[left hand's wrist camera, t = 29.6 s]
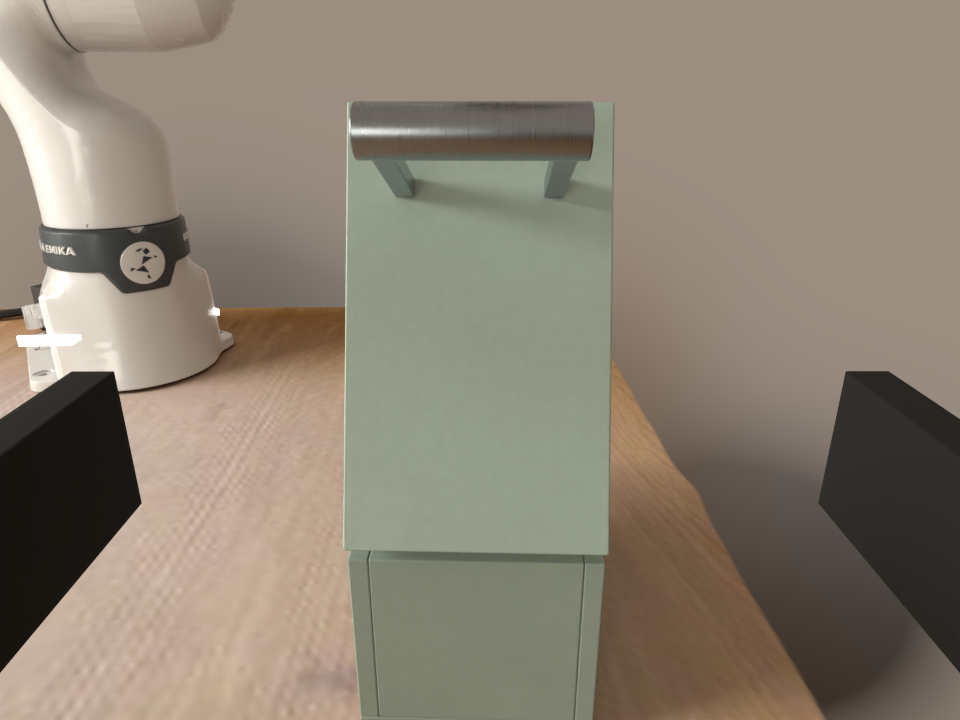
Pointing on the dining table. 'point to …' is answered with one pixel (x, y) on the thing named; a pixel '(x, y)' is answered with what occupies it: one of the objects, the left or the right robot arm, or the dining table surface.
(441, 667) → the chest
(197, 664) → the dining table surface
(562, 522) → the lid
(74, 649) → the dining table surface
